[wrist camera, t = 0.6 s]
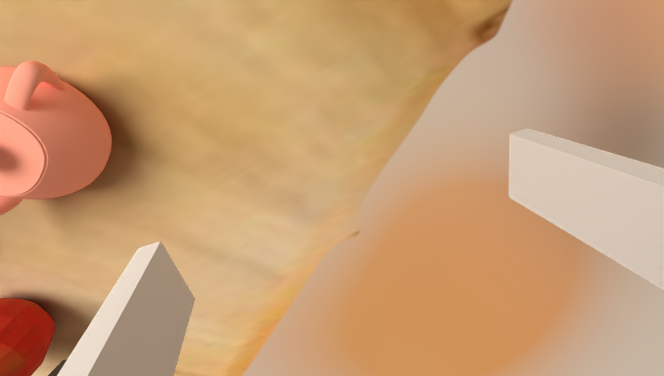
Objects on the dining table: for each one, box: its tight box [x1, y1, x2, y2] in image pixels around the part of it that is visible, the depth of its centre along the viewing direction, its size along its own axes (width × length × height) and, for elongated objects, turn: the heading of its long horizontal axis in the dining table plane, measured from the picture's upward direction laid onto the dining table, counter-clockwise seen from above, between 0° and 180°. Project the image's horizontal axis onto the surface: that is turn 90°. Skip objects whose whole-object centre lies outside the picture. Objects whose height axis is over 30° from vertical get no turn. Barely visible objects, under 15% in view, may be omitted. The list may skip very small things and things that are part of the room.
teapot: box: [0, 61, 112, 215], centre depth 28 cm, size 12×18×10 cm
